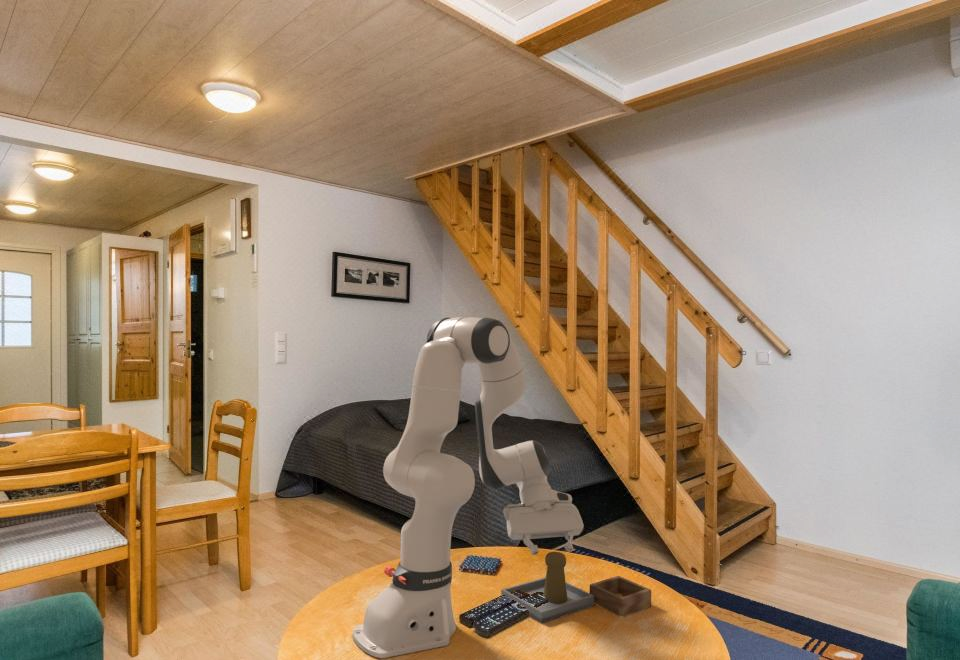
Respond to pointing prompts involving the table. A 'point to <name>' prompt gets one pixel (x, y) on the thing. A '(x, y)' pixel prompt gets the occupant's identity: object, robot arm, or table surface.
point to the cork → (555, 578)
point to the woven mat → (480, 564)
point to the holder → (632, 592)
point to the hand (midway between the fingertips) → (552, 552)
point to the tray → (551, 611)
